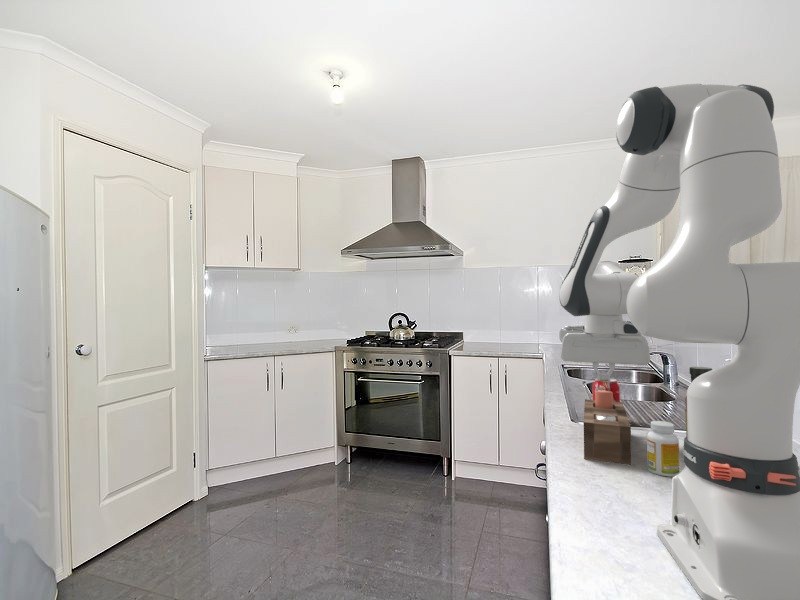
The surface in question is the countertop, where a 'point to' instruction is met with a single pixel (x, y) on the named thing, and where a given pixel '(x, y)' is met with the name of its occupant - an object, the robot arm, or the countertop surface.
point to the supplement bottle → (663, 449)
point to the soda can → (607, 388)
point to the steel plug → (605, 417)
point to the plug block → (607, 434)
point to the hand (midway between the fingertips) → (603, 380)
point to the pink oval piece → (604, 399)
